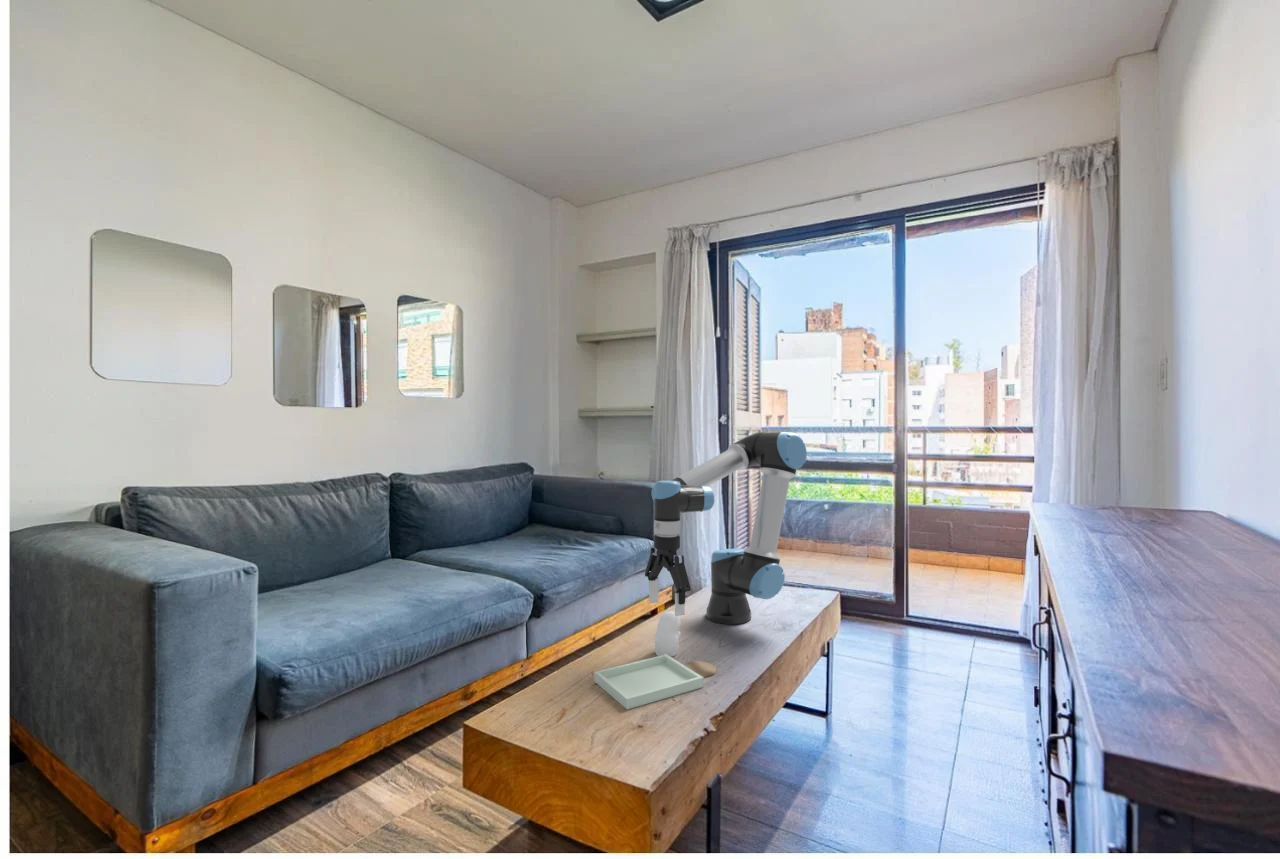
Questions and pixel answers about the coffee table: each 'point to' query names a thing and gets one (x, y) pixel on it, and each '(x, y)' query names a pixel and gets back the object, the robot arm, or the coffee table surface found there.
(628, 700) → the tray
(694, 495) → the robot arm
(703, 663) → the metal coaster
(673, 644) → the figurine
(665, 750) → the coffee table surface
